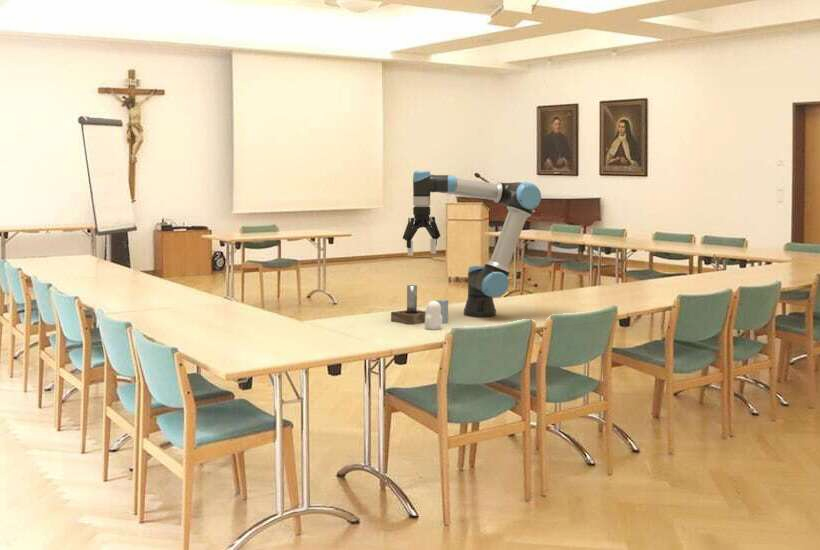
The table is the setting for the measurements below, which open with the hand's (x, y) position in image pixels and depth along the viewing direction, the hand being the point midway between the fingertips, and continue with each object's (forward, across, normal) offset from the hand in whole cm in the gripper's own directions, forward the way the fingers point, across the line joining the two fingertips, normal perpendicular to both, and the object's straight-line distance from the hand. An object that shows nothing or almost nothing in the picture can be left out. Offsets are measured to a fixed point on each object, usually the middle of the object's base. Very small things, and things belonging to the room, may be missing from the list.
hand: (421, 254), depth 394 cm
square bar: (+30, -6, +7) cm, 31 cm away
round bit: (+30, +3, -4) cm, 30 cm away
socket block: (+30, +3, -4) cm, 30 cm away
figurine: (+30, +8, +16) cm, 35 cm away
